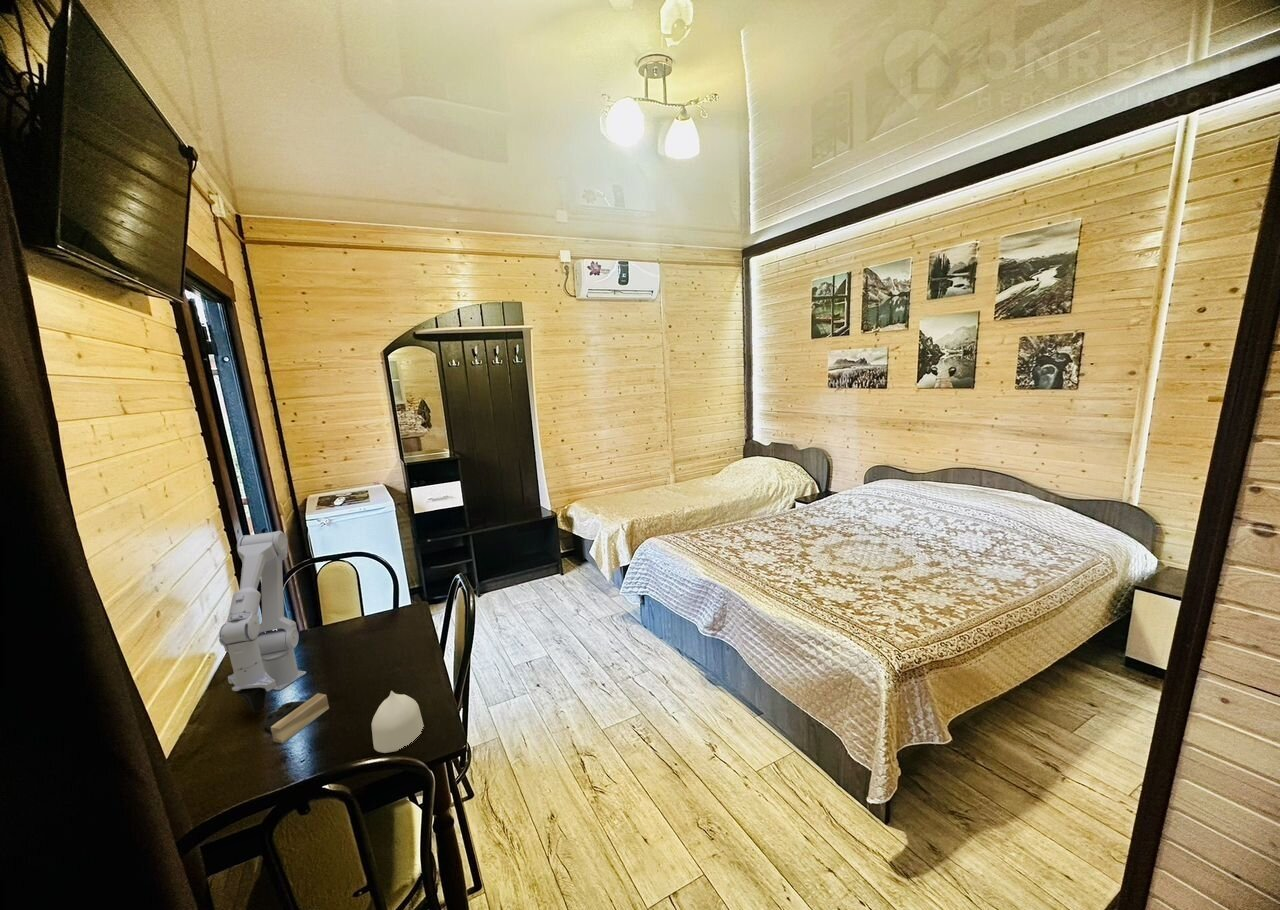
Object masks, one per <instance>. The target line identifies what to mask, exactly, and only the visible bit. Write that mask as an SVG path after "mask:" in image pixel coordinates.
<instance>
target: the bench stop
mask: <svg viewBox="0 0 1280 910" xmlns="http://www.w3.org/2000/svg"><path fill="white" fill-rule="evenodd" d="M329 709H330V706H329V699H328V697H327V694H324V693H318V692H317V693H316V694H315V695H313V696H312V697H311V698H309V699H308V700H306V701H305V703H303V704H302V705H301V706H299V707H298V708H296V709H295V710H294V711H292V712H291V713H290V714H288V715H287V716H285V717H284V718H283V719H281V720H280V721H278V722H277V723H276V724H274V725H273V726H271V731H272V732H271V731H270V732H271V734H272V740H273V742H275V743H279V744H282V745H283V744H285V743H286V742H287V741H289V740H290V739H291V738H292V737H294V736H295V735H296V734H297V733H299V732H300V731H302V730H303V729H304V728H306V727H308V726H309V725H310V724H311V723H312V722H314V720H316V719H317V718H319V717H320V716H321V715H323V714H324V713H325V712H326V711H328V710H329Z"/></svg>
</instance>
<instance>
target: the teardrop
mask: <svg viewBox="0 0 1280 910" xmlns="http://www.w3.org/2000/svg"><path fill="white" fill-rule="evenodd" d="M423 721H424V720H423V718H422V713H421V710H420V707H419V704H418V703H417V701H416V700H415V699H414V698H412V697H410V696H409V695H406V694H399V693H396V692H394V691H393V690H390V693H389V696H388V697H387V698H384V700H383V701H382V702H381V704H380V705H379V706H378V708H377V710H376V711H375V714H374V715H373V717H372V721H371V732H372V735H371V736H372V744H373V749H374V750H375V751H376V752H378V753H384V754H386V753H392V752H397V751H399V749H400V750H401V748H402V749H404V748H405V747H404V746H406V747H407V745H408V746H409V744H410V743H411V742H412V743H414V742H415V741H416V740H417V739H418V738H419V737H420V736H421V735H420V734H422V732H421V731H423V730H424V728H425V725H424V722H423ZM423 727H424V728H423ZM422 729H423V730H422ZM419 735H420V736H419ZM418 736H419V737H418ZM417 737H418V738H417ZM416 738H417V739H416ZM415 739H416V740H415ZM414 740H415V741H414ZM413 741H414V742H413ZM412 743H411V744H412ZM411 744H410V745H411ZM403 747H404V748H403Z"/></svg>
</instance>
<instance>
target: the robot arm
mask: <svg viewBox="0 0 1280 910" xmlns="http://www.w3.org/2000/svg"><path fill="white" fill-rule="evenodd" d="M236 550H237V554H238V556H239V558H240V560H241V561H242V565H241V566H242V567H241V573H240V575H241V576H240V583H239V590H238V591H236V592H235V593H233V595H232V597H231V603H230V607H229V612H228V616H227V620H226V622H225V623H224V624H222V626H220V629H219V633H218V637H219V638H218V641H219V643H220V646H223V647H224V651H225V652H226V653H228V654H229V659H230V662H231V667H232V670H233V671H232V672H233V673H232V674H231V675H228V676H227V681H228V684H231V685H232V684H233V685H234V686H232V687H231V690H232V692H235V694H236V695H237V696H239V697H240V698H241V699H243V701H244V702H245V703H246V704H247V707H248V708H249V709H250V711H251V712H253V713H258V712H259V711H261V710H263V709H264V708H265V704H266V703H265V702H266V695H267V693H268V692H270V691H271V690H275V691H281V690H282V689H284V688H286V687H288V686H289V685H290V684H292V683H294V682H295V681H297V680H298V679H300V678H302V677H303V676H304V675H306V674H307V671H306V670H305V671H304V670H299V669H298V664H297V659H296V655H295V649H296V647H297V646H298V643H299V636H300V635H299V631H298V628H297V627H298V626H297V622H296V621H294V620H293V619H290V618H287V617H286V616H285V609H284V608H285V605H284V602H285V601H284V581H283V577H284V576H283V561H284V560H285V559H286V558H288V537H287V536H286V535H285V533H284V532H283V531H281V530H276V531H271V532H264V533H262V532H261V533H257V534H245V535H241V536H240V537H239V539H238V541H237V543H236ZM259 584H260V585H261V588H260V589H261V592H260V591H258V587H259ZM260 601H261V617H262V618H261V620H262V622H261V623H260V615H258V612H259V606H260Z"/></svg>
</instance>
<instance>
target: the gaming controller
mask: <svg viewBox="0 0 1280 910" xmlns="http://www.w3.org/2000/svg"><path fill="white" fill-rule="evenodd" d="M305 702H306V701H304V700H303V701H302V700H297V701H289V702H286V703H283V704H282V705H280V706H279V707H278V708H277V709H275V710H274V711H272V712H271V713H270V714H268V715H267V716H266V717H265V718H264V720H263V726H264V728H266V729H267V730H268V731H269V732H271V733H272V731H271V726H273V725H274V724H276V723H277V722H278V721H280V720H281V719H283V718H284V717H285V716H287V715H288V714H290V713H291V712H292V711H294V710H295V709H296V708H298V707H299V706H301V705H302V704H303V703H305Z"/></svg>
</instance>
